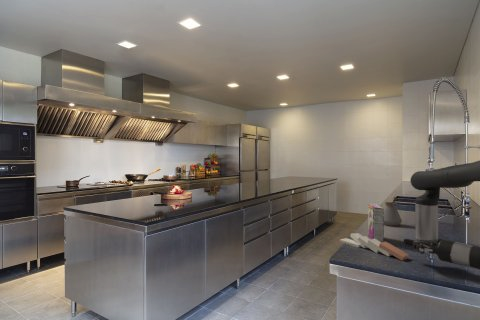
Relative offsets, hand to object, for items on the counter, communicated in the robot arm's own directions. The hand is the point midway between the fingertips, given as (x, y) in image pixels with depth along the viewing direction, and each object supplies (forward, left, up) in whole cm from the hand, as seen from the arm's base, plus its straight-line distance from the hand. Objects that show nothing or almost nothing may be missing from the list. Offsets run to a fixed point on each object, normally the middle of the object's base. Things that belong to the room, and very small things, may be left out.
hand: (404, 241), depth 115 cm
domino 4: (0, -5, -6) cm, 8 cm away
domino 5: (0, +1, -6) cm, 6 cm away
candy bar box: (-18, -22, -7) cm, 29 cm away
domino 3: (0, -10, -6) cm, 12 cm away
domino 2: (-1, -16, -6) cm, 17 cm away
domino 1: (-1, -19, -7) cm, 20 cm away
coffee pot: (-58, -34, -7) cm, 67 cm away
